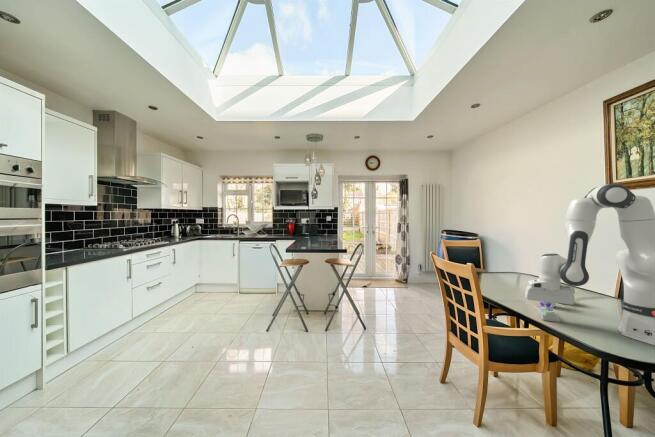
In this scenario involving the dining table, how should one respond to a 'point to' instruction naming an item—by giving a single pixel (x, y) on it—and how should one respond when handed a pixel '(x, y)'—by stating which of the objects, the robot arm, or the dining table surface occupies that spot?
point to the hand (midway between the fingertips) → (548, 310)
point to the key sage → (549, 313)
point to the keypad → (546, 317)
